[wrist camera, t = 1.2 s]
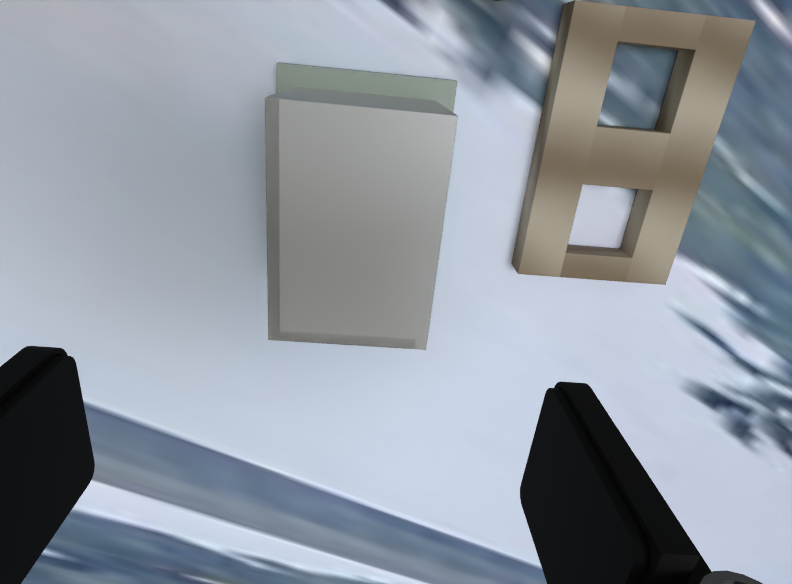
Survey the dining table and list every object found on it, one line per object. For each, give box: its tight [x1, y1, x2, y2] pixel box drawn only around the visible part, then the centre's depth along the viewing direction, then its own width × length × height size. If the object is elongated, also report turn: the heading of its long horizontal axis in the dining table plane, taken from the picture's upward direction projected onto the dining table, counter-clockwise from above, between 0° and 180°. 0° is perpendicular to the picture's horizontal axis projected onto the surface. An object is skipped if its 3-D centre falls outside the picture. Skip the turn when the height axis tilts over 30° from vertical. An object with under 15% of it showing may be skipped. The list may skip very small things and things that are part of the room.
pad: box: [277, 63, 457, 112], centre depth 26 cm, size 12×9×6 cm
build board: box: [512, 0, 756, 285], centre depth 28 cm, size 14×9×2 cm, turn 175°
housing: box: [265, 87, 458, 350], centre depth 24 cm, size 10×7×8 cm
